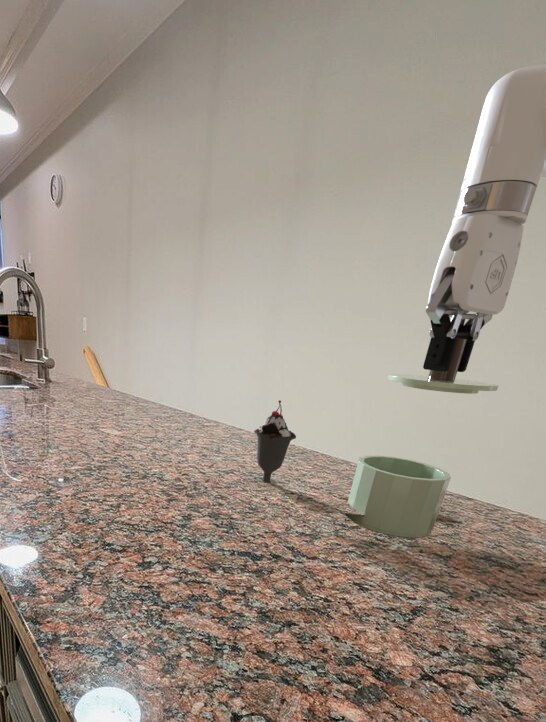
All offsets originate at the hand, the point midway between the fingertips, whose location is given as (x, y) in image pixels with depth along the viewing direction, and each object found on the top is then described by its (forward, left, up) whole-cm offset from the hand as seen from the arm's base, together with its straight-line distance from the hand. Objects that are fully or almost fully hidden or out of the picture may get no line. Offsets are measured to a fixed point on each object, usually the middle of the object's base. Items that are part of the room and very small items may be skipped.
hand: (444, 369), depth 60 cm
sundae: (+19, -9, -22) cm, 31 cm away
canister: (+2, 0, -22) cm, 22 cm away
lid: (0, 0, -2) cm, 2 cm away
